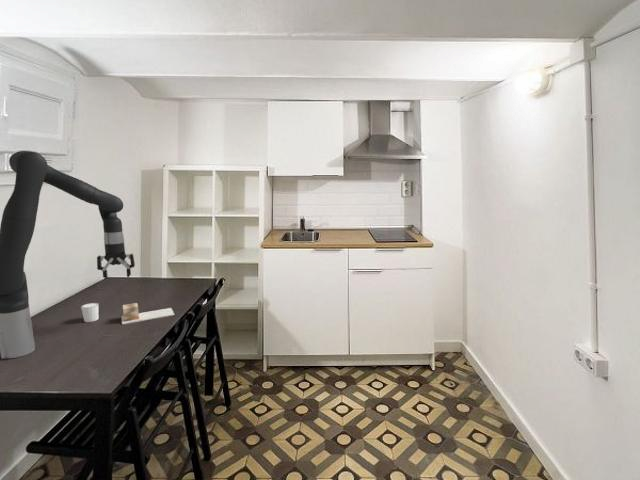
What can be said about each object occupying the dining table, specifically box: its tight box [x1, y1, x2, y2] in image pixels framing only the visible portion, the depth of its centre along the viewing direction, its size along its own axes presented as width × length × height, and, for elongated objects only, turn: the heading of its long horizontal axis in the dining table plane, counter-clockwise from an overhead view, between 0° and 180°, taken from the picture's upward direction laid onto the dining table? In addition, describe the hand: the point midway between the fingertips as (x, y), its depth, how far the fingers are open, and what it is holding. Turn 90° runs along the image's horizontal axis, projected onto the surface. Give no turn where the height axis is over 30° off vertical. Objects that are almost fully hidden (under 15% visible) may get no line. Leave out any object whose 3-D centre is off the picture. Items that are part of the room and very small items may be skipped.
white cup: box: [80, 302, 100, 323], centre depth 162 cm, size 7×7×7 cm
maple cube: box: [122, 302, 140, 322], centre depth 162 cm, size 6×6×6 cm
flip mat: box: [121, 307, 175, 325], centre depth 167 cm, size 22×10×1 cm, turn 121°
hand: (117, 277), depth 156 cm, fingers open, 8 cm apart
